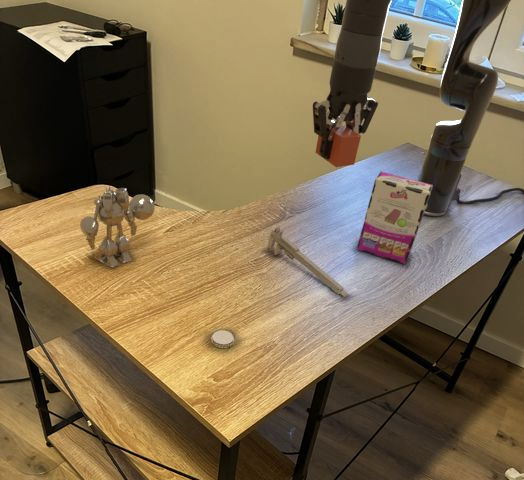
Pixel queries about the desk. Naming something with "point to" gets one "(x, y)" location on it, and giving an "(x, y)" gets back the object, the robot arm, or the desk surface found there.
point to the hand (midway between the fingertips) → (335, 155)
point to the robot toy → (115, 223)
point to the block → (342, 147)
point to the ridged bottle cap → (222, 338)
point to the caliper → (301, 259)
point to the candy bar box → (393, 216)
